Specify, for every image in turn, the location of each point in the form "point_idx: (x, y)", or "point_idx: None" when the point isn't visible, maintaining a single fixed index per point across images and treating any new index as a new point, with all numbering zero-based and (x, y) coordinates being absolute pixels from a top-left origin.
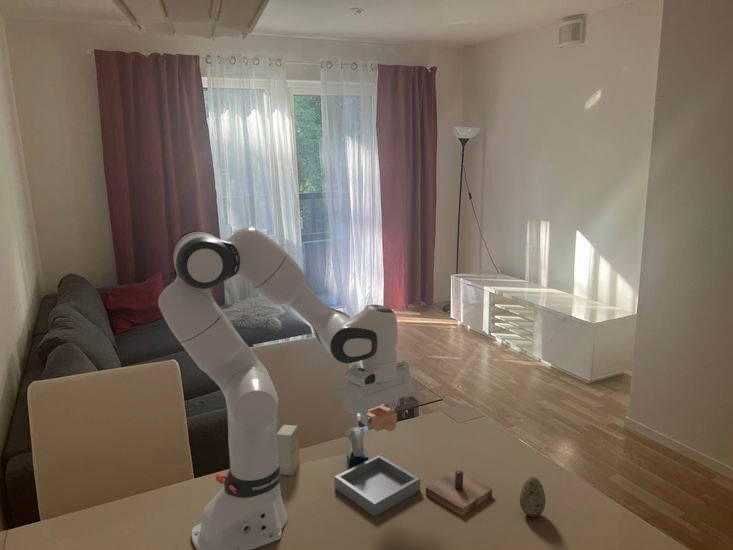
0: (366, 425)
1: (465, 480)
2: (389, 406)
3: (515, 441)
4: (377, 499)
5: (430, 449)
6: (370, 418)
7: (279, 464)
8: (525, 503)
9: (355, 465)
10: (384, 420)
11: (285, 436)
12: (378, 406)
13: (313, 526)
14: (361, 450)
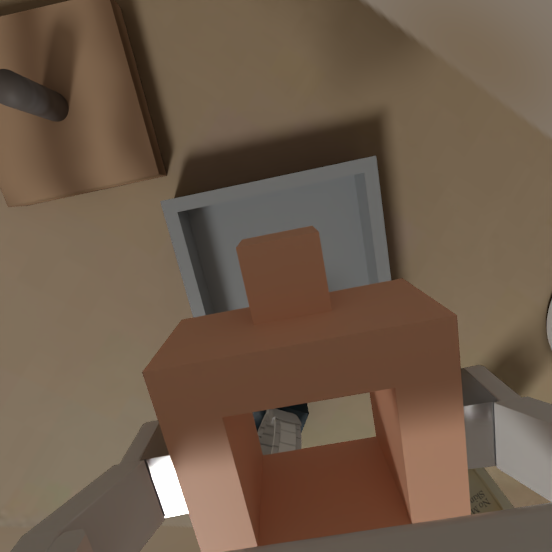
0: (479, 365)
1: (7, 133)
2: (150, 520)
3: None
4: (353, 173)
5: (30, 370)
6: (465, 404)
7: (492, 479)
8: None
9: None
10: (336, 320)
11: None
12: None
13: (523, 214)
14: (280, 413)
